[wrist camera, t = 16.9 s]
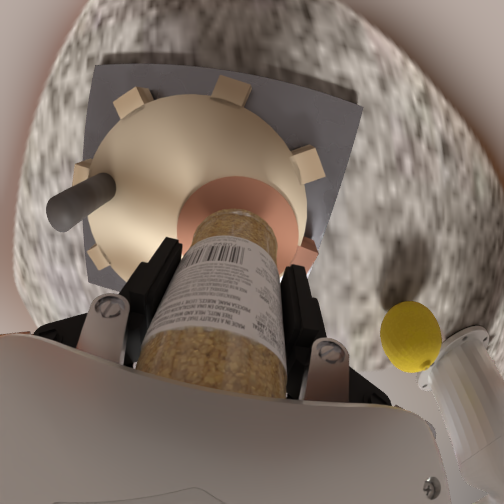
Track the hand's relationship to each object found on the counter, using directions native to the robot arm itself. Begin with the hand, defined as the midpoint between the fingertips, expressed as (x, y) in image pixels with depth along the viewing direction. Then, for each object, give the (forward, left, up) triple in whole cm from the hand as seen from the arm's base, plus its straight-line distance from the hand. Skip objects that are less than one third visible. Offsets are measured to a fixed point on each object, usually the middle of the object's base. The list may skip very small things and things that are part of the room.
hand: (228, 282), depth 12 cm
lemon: (-17, +6, -10) cm, 20 cm away
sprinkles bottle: (0, 0, -4) cm, 4 cm away
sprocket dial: (+3, 0, -8) cm, 9 cm away
